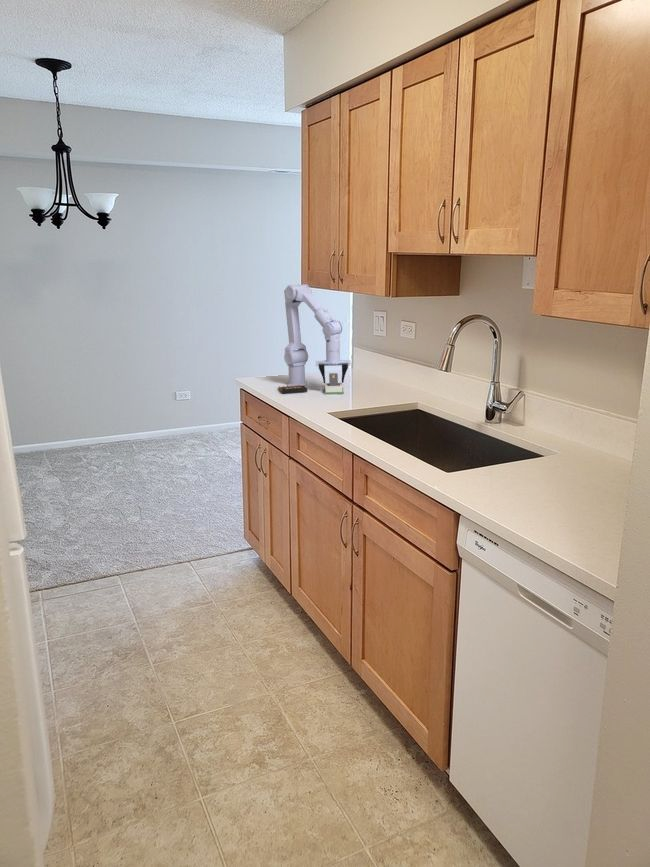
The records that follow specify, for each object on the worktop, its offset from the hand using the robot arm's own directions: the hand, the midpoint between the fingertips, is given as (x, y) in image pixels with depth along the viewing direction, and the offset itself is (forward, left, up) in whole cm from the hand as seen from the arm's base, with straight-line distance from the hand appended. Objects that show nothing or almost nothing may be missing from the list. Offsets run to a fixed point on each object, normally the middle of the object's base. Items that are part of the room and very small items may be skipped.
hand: (333, 382), depth 279 cm
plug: (0, 0, -3) cm, 3 cm away
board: (0, 0, -4) cm, 4 cm away
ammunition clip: (+1, -16, -3) cm, 17 cm away
